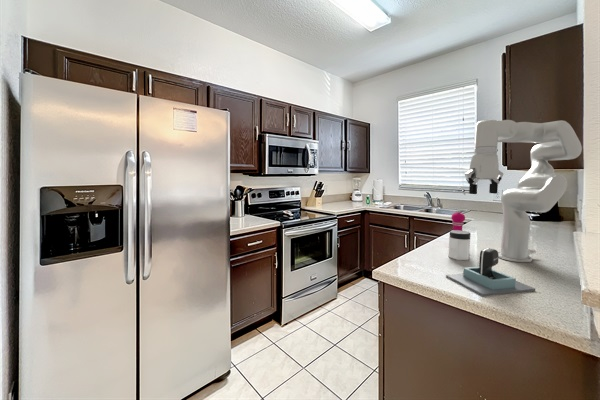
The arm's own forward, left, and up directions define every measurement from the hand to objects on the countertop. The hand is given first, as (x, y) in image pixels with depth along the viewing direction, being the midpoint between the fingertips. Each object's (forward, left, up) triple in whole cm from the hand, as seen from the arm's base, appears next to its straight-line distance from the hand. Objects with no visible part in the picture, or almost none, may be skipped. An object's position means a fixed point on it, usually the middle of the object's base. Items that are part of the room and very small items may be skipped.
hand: (483, 193), depth 108 cm
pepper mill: (-10, -24, -31) cm, 40 cm away
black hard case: (+13, +17, -30) cm, 36 cm away
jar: (+1, -10, -31) cm, 32 cm away
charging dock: (+13, +17, -30) cm, 37 cm away
